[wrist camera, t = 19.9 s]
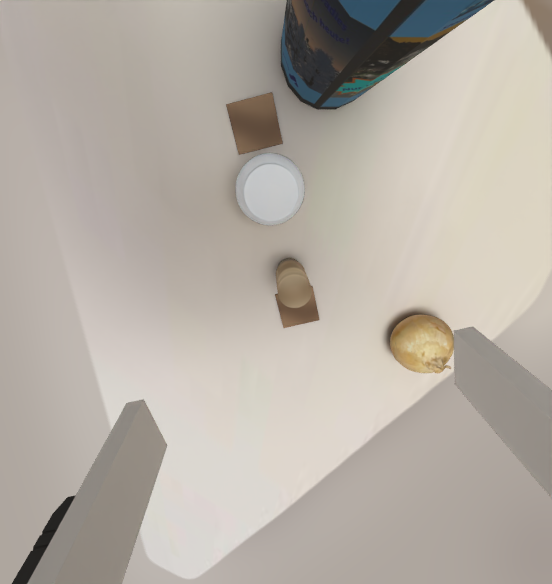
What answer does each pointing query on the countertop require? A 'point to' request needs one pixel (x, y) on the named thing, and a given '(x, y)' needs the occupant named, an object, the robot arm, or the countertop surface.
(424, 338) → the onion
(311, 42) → the advertising column
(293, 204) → the pill bottle
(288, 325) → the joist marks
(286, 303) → the tan wooden cylinder
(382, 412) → the countertop surface
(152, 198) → the countertop surface
